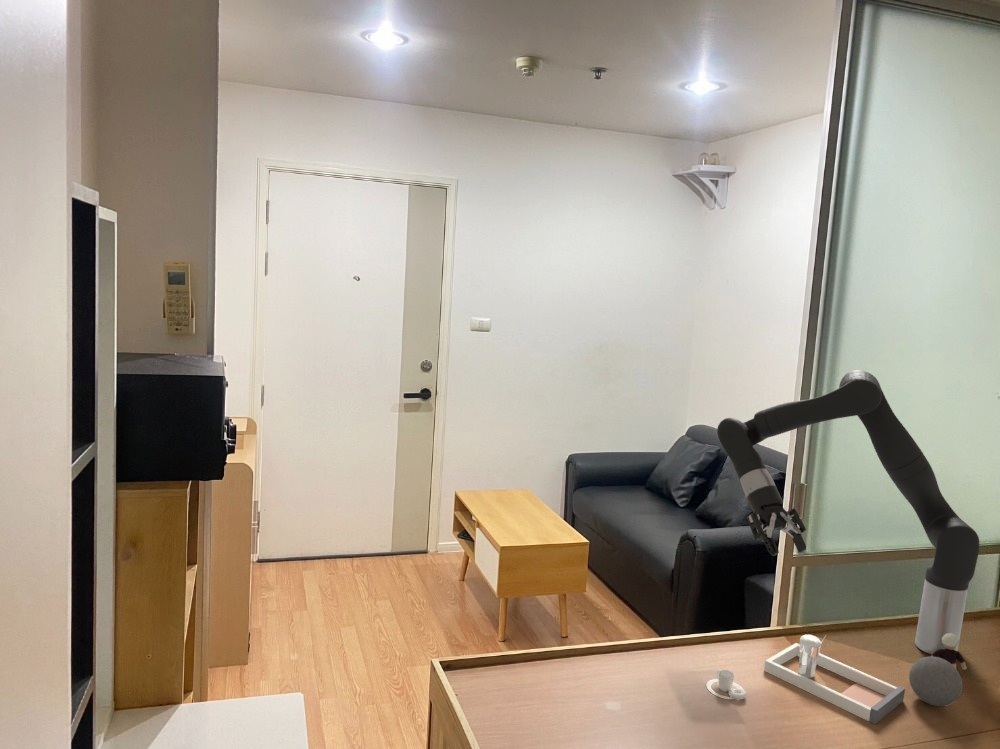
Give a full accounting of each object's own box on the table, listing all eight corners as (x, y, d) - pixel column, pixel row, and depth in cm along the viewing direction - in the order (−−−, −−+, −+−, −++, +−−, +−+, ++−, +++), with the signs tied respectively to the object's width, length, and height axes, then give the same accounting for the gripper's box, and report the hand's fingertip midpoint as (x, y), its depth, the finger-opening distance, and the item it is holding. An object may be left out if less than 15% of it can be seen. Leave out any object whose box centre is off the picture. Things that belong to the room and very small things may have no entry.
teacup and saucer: (751, 704, 166) (753, 686, 165) (714, 703, 165) (716, 685, 165) (736, 681, 174) (738, 664, 174) (701, 680, 174) (703, 663, 173)
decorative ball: (896, 689, 174) (902, 647, 173) (938, 689, 175) (945, 647, 174) (924, 716, 165) (931, 671, 163) (969, 716, 166) (976, 672, 164)
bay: (794, 652, 188) (796, 640, 188) (903, 701, 170) (905, 688, 169) (763, 670, 179) (765, 658, 178) (874, 724, 160) (876, 710, 160)
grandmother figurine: (955, 683, 179) (963, 631, 176) (964, 692, 175) (973, 639, 173) (921, 680, 179) (929, 628, 177) (929, 690, 175) (938, 637, 173)
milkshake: (822, 681, 176) (828, 640, 174) (797, 677, 177) (802, 636, 175) (818, 671, 180) (824, 630, 178) (794, 667, 181) (799, 627, 179)
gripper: (747, 486, 188) (776, 549, 180) (792, 482, 194) (821, 543, 186) (729, 500, 194) (756, 562, 186) (773, 496, 200) (802, 556, 192)
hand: (789, 552), depth 186 cm, fingers open, 8 cm apart
